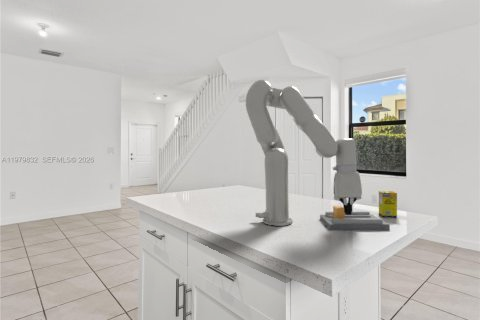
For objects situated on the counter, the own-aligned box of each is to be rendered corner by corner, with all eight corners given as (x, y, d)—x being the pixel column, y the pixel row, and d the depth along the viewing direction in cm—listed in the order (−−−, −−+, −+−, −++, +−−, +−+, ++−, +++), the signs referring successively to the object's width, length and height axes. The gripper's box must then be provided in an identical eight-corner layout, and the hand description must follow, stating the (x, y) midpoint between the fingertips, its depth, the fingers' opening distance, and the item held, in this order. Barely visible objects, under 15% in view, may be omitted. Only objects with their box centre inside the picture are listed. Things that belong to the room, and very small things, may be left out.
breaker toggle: (336, 220, 109) (336, 208, 109) (333, 217, 114) (333, 205, 114) (344, 220, 109) (344, 208, 109) (340, 217, 114) (340, 205, 113)
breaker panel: (329, 229, 104) (329, 223, 104) (320, 219, 120) (320, 213, 120) (389, 229, 102) (389, 222, 102) (371, 218, 118) (371, 212, 118)
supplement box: (397, 217, 119) (397, 193, 119) (382, 217, 120) (382, 192, 120) (392, 214, 125) (392, 190, 125) (378, 214, 126) (378, 190, 126)
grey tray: (334, 223, 105) (334, 219, 105) (325, 215, 118) (325, 211, 118) (382, 223, 104) (382, 219, 104) (368, 215, 117) (368, 211, 117)
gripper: (329, 170, 107) (331, 217, 108) (369, 168, 106) (370, 215, 107) (325, 169, 115) (327, 212, 115) (361, 167, 114) (363, 211, 114)
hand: (348, 213), depth 111 cm, fingers closed
